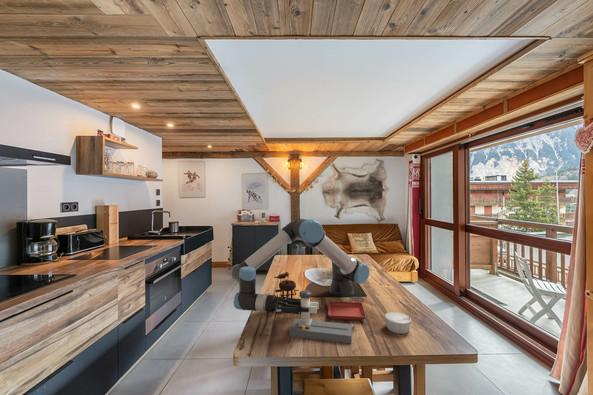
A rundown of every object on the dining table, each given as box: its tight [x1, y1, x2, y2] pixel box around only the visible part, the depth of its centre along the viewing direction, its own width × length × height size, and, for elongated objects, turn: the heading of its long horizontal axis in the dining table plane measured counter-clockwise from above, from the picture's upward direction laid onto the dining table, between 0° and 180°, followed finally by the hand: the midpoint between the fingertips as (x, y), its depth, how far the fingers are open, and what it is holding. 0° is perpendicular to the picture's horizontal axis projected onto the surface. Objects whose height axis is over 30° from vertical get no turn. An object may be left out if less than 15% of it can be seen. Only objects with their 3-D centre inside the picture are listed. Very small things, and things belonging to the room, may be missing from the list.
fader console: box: [289, 318, 353, 344], centre depth 111 cm, size 26×10×4 cm, turn 77°
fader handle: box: [298, 290, 313, 328], centre depth 113 cm, size 5×6×14 cm
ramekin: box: [384, 311, 412, 335], centre depth 116 cm, size 11×11×5 cm
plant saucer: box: [327, 300, 367, 322], centre depth 132 cm, size 18×18×3 cm
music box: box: [273, 271, 300, 299], centre depth 140 cm, size 15×11×20 cm
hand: (317, 307), depth 112 cm, fingers closed on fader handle, 4 cm apart
